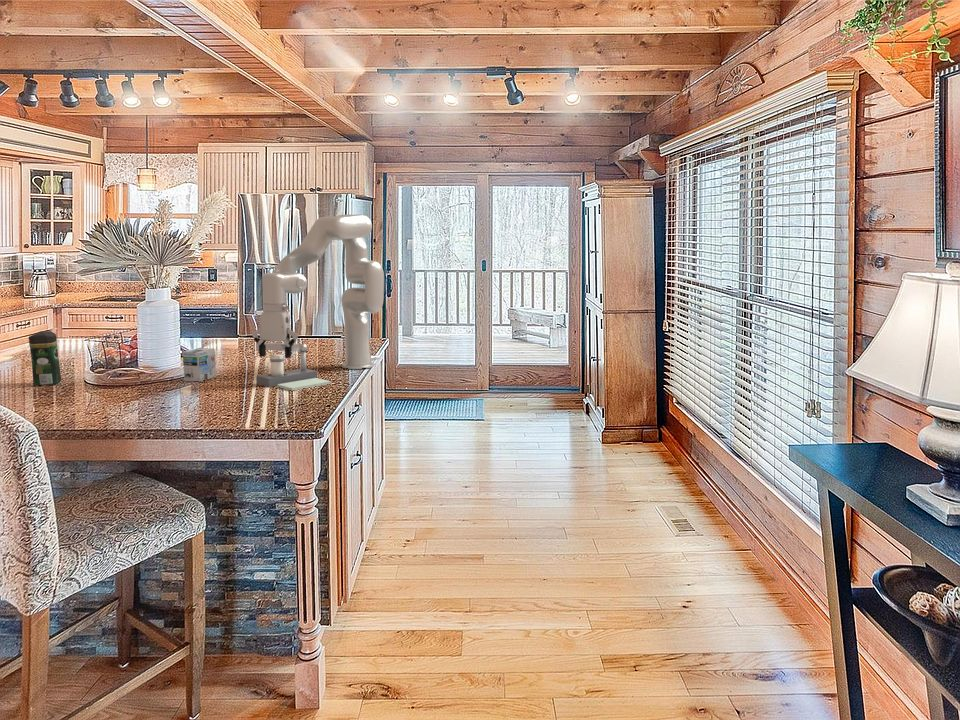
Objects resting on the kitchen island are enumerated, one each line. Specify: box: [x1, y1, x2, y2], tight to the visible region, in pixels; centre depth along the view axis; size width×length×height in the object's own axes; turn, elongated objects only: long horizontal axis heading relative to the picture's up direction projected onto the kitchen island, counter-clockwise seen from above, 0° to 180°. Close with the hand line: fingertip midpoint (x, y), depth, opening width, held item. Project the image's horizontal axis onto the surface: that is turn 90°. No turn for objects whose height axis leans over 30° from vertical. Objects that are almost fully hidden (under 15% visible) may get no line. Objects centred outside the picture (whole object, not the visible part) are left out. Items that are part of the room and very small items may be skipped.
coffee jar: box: [28, 330, 62, 386], centre depth 251 cm, size 10×8×19 cm
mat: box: [276, 377, 332, 392], centre depth 252 cm, size 16×9×1 cm, turn 138°
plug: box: [269, 354, 285, 377], centre depth 255 cm, size 4×4×10 cm
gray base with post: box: [255, 351, 318, 388], centre depth 258 cm, size 20×8×10 cm, turn 138°
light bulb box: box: [182, 347, 217, 383], centre depth 262 cm, size 11×7×11 cm, turn 168°
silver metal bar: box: [255, 342, 308, 352], centre depth 264 cm, size 19×3×2 cm, turn 79°
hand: (275, 356), depth 254 cm, fingers open, 9 cm apart
